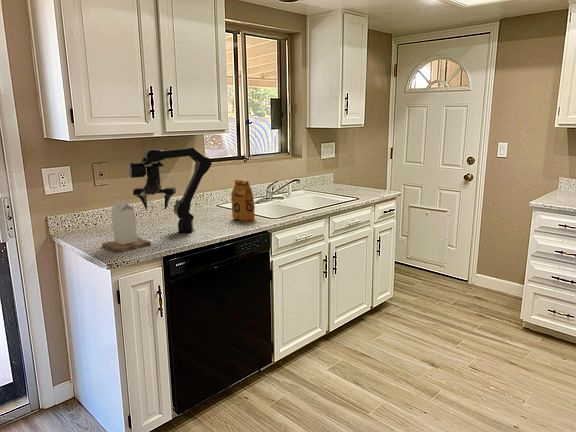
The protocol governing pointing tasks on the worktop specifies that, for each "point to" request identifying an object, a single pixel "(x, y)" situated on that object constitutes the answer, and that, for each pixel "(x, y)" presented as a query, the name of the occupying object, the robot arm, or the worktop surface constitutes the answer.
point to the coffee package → (242, 201)
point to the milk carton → (124, 223)
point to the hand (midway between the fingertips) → (156, 209)
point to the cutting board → (126, 245)
